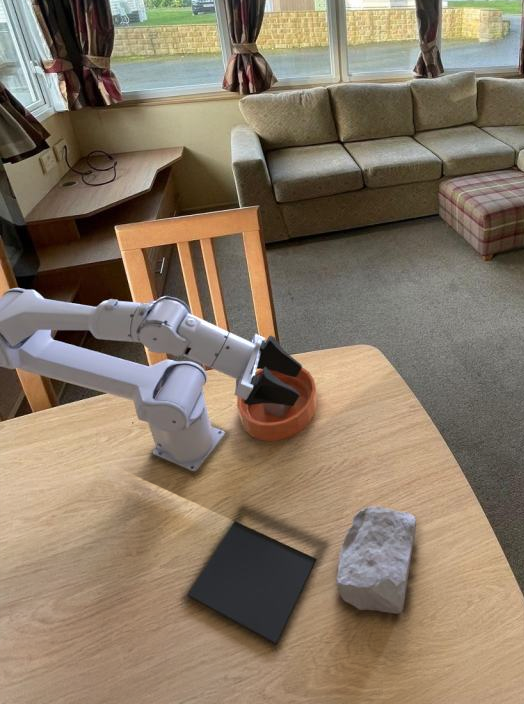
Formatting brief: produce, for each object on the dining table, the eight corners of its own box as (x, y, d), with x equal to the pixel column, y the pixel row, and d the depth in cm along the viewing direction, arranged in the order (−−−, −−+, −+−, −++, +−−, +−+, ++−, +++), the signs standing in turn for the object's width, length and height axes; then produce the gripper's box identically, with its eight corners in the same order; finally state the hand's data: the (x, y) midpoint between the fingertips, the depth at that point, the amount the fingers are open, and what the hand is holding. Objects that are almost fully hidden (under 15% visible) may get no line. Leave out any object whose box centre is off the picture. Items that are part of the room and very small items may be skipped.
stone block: (335, 611, 64) (408, 620, 61) (326, 589, 63) (400, 597, 60) (358, 521, 75) (421, 525, 72) (351, 500, 73) (415, 504, 70)
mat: (187, 596, 65) (187, 594, 65) (242, 510, 75) (242, 508, 75) (276, 644, 60) (276, 643, 60) (322, 546, 70) (322, 544, 70)
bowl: (224, 428, 88) (220, 411, 86) (269, 372, 100) (266, 355, 98) (292, 453, 83) (289, 436, 81) (330, 391, 95) (328, 374, 93)
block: (264, 412, 90) (261, 397, 88) (276, 395, 94) (273, 380, 92) (282, 418, 89) (279, 403, 87) (294, 401, 92) (291, 386, 90)
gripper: (222, 353, 67) (308, 392, 70) (240, 307, 81) (311, 341, 84) (198, 394, 68) (284, 431, 71) (220, 341, 82) (291, 374, 85)
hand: (297, 384), depth 77 cm, fingers open, 7 cm apart
